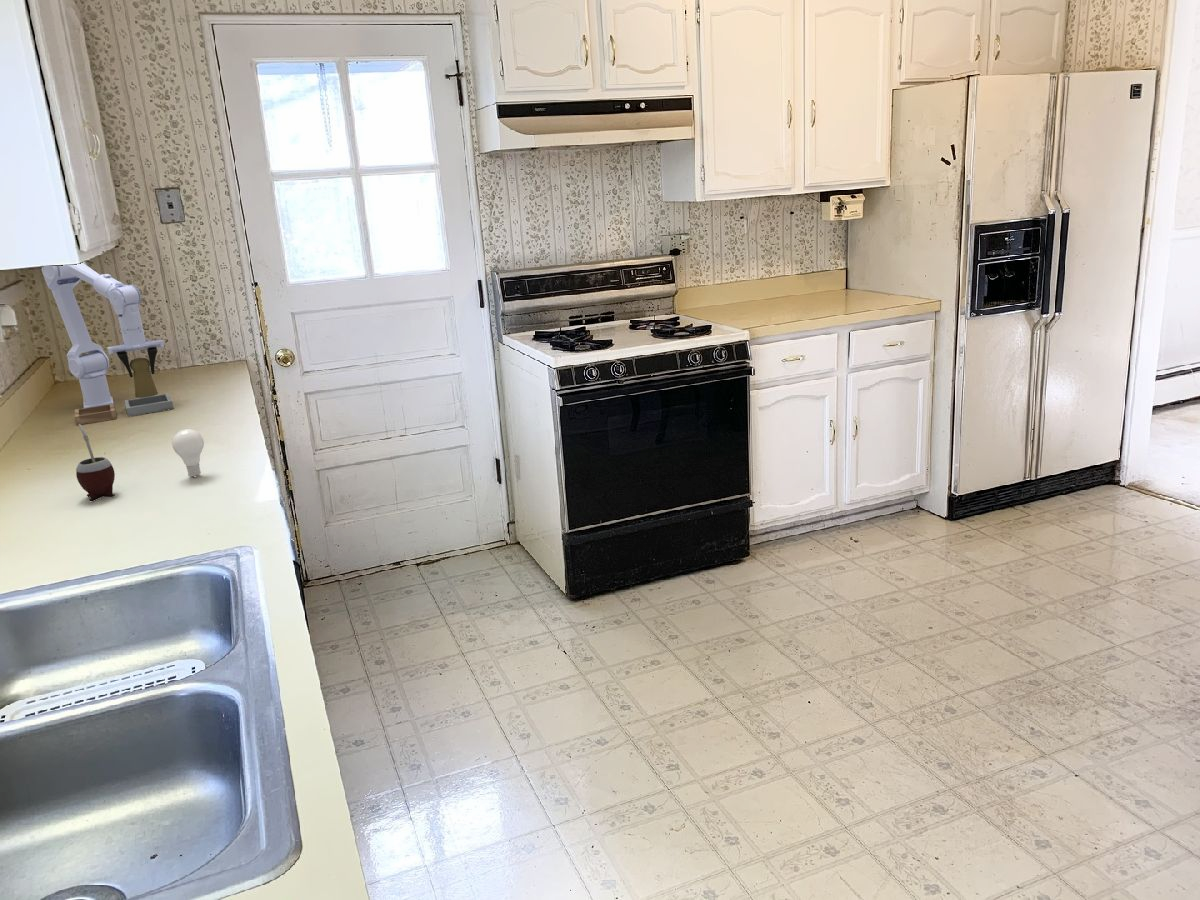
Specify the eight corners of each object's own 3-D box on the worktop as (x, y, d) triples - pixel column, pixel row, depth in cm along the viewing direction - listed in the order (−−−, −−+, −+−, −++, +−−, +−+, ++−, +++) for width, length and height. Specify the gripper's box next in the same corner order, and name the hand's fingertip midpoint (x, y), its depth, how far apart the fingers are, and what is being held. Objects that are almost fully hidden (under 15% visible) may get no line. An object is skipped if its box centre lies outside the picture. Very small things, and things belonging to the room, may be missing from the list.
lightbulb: (215, 475, 203) (205, 428, 199) (187, 483, 198) (177, 435, 195) (202, 470, 207) (192, 423, 203) (174, 478, 202) (164, 431, 199)
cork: (162, 392, 268) (154, 355, 265) (151, 396, 262) (143, 359, 259) (142, 394, 268) (134, 357, 265) (131, 398, 262) (122, 360, 260)
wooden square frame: (76, 418, 262) (74, 409, 261) (115, 411, 266) (113, 403, 265) (76, 425, 253) (74, 416, 253) (116, 418, 258) (114, 410, 257)
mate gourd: (104, 502, 190) (87, 433, 185) (71, 502, 191) (53, 434, 187) (127, 489, 197) (112, 423, 192) (95, 489, 198) (79, 423, 193)
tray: (126, 408, 269) (124, 400, 268) (170, 401, 275) (168, 393, 274) (128, 416, 259) (126, 408, 258) (173, 409, 265) (171, 401, 264)
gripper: (104, 334, 253) (115, 381, 257) (160, 326, 260) (170, 373, 264) (103, 330, 259) (114, 377, 263) (158, 323, 265) (168, 369, 270)
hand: (142, 375), depth 264 cm, fingers closed on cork, 5 cm apart
